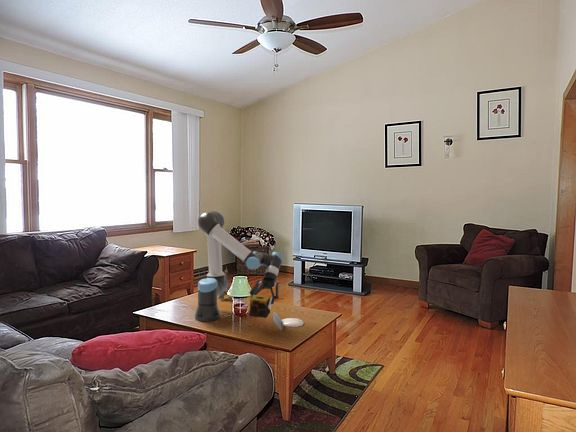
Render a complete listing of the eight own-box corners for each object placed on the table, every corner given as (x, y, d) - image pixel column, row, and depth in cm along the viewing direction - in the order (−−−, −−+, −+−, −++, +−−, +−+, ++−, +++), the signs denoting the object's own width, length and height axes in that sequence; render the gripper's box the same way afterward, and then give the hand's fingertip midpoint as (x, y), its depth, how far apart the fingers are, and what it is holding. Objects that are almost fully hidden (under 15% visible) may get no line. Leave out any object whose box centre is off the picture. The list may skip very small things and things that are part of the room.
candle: (266, 318, 223) (266, 301, 222) (248, 316, 225) (249, 299, 224) (270, 312, 233) (271, 296, 232) (253, 311, 235) (254, 294, 234)
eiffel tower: (219, 301, 280) (220, 266, 279) (217, 297, 290) (217, 263, 288) (234, 300, 284) (235, 266, 282) (231, 296, 294) (232, 263, 292)
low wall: (280, 330, 227) (280, 322, 227) (273, 320, 244) (273, 312, 244) (282, 330, 227) (282, 321, 227) (275, 320, 245) (275, 312, 244)
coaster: (283, 327, 232) (283, 326, 232) (277, 319, 245) (277, 318, 245) (306, 326, 235) (306, 325, 235) (299, 318, 249) (299, 317, 249)
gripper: (290, 280, 242) (280, 313, 228) (255, 276, 249) (243, 307, 236) (287, 273, 236) (277, 306, 223) (252, 269, 244) (239, 301, 230)
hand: (259, 307), depth 229 cm, fingers closed on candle, 10 cm apart
